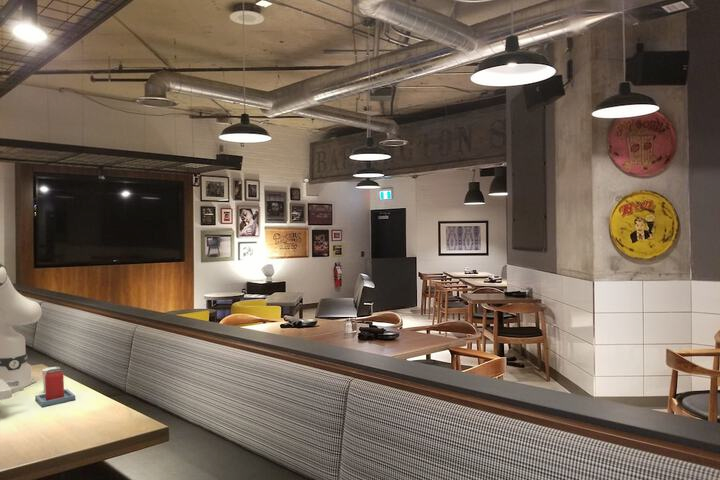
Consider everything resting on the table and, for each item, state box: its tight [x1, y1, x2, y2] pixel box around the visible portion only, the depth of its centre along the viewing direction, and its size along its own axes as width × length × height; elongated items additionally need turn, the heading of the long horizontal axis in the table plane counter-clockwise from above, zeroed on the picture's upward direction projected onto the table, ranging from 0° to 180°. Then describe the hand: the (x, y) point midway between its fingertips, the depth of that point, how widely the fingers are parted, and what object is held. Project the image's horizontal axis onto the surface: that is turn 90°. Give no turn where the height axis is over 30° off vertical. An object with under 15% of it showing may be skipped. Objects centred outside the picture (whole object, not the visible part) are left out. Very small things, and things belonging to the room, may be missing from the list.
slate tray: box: [34, 388, 76, 408], centre depth 216 cm, size 12×12×2 cm
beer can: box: [45, 368, 65, 401], centre depth 216 cm, size 7×7×12 cm
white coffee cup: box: [41, 366, 61, 394], centre depth 228 cm, size 7×7×10 cm
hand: (21, 385), depth 208 cm, fingers open, 8 cm apart
